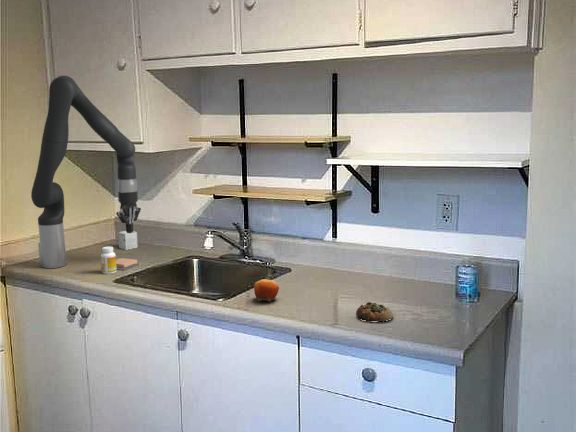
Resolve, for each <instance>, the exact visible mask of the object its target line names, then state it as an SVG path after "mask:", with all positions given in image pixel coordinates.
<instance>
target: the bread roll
mask: <svg viewBox="0 0 576 432" xmlns="http://www.w3.org/2000/svg"><path fill="white" fill-rule="evenodd" d="M393 315H394V313H393V311H392V310H391V309H390V308H389V307H386V306H385V305H384V304H378V303H377V302H371V301H368V302H366V304H364V305H363V303H362V304H360V305H359V307H357V309H356V311H355V316H356V318H357V317H358V318H360V319H362V320H366V321H367V322H368V321H378V322H380V321H386V320H389V319H391V318H392V319H393ZM358 318H357V319H358Z"/></svg>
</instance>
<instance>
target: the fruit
mask: <svg viewBox="0 0 576 432" xmlns="http://www.w3.org/2000/svg"><path fill="white" fill-rule="evenodd" d="M279 290H280V286H279V284H278V283H277V282H276V281H274V280H272V279H265V278H264V279H262V278H261V279H260V280H258V281H255V283H254V286H253V291H254V295H255V299H256V300H257V302H263V301H267V302H269V303H271V301H272V300H275V298H277V295H278V294H279ZM262 300H263V301H262Z"/></svg>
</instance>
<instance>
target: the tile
mask: <svg viewBox="0 0 576 432" xmlns="http://www.w3.org/2000/svg"><path fill="white" fill-rule="evenodd" d="M133 264H138V259H133V258H124V257H123V258H121V257H120V258H117V259H116V267H123V268H125V267H127V266H130V265H133Z"/></svg>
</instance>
